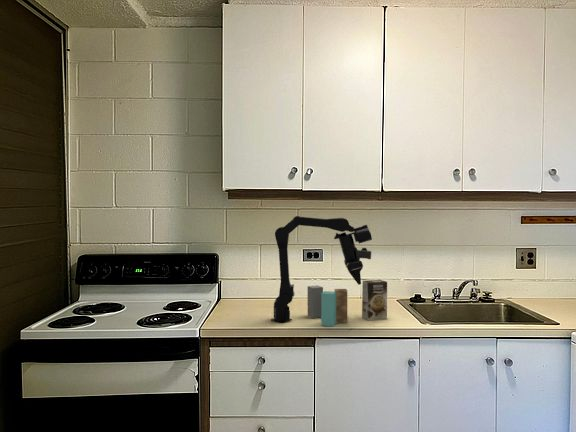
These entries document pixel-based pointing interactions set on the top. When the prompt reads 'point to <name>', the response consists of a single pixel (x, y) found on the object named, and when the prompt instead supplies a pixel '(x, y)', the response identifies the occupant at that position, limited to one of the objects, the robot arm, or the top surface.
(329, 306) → the teal block
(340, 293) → the walnut block
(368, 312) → the coffee box
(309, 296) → the charcoal block
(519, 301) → the top surface
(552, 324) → the top surface
